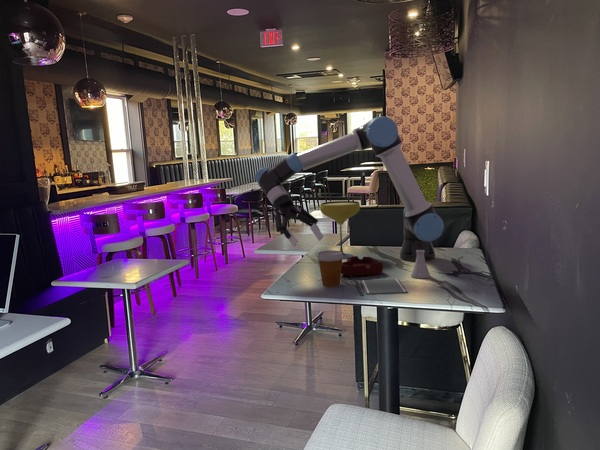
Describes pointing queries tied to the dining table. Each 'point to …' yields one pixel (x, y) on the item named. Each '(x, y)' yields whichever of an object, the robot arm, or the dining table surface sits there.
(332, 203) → the cocktail glass
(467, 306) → the dining table surface
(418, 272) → the flask
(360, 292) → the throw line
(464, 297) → the dining table surface
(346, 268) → the ashtray
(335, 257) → the disposable coffee cup
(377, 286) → the mat
